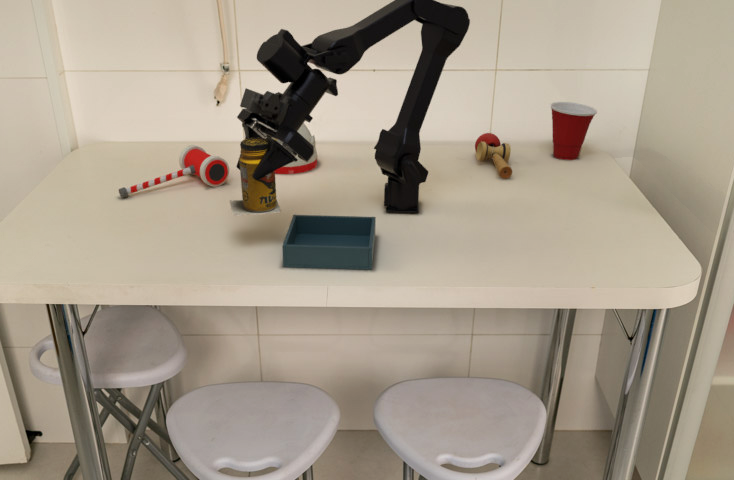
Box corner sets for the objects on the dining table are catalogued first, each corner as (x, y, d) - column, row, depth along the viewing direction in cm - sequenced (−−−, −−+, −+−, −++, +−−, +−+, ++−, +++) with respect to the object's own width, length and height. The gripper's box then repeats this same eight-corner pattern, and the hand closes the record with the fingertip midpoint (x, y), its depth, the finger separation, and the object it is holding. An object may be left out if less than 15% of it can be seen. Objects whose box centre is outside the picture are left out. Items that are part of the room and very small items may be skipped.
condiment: (281, 212, 138) (277, 145, 131) (233, 217, 136) (227, 149, 130) (275, 198, 144) (271, 133, 138) (229, 202, 142) (223, 137, 136)
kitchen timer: (247, 169, 179) (242, 102, 171) (274, 152, 190) (271, 89, 182) (301, 177, 174) (299, 109, 167) (327, 159, 185) (326, 95, 178)
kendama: (524, 183, 175) (501, 148, 189) (523, 157, 171) (500, 124, 185) (490, 190, 175) (469, 155, 189) (489, 165, 171) (468, 131, 185)
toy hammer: (133, 206, 158) (128, 176, 155) (110, 190, 166) (105, 161, 163) (231, 183, 170) (229, 155, 167) (205, 169, 178) (202, 142, 175)
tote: (375, 237, 145) (375, 216, 143) (371, 269, 133) (372, 248, 131) (294, 234, 146) (293, 214, 144) (283, 267, 134) (282, 245, 132)
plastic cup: (594, 163, 183) (603, 112, 177) (548, 163, 183) (555, 111, 177) (583, 150, 192) (591, 100, 186) (539, 149, 192) (545, 100, 186)
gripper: (243, 60, 136) (190, 133, 137) (294, 80, 123) (236, 161, 123) (285, 100, 144) (235, 169, 144) (338, 123, 130) (283, 199, 131)
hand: (246, 173), depth 135 cm, fingers closed on condiment, 6 cm apart
